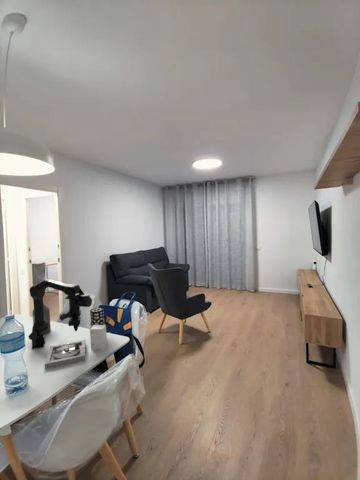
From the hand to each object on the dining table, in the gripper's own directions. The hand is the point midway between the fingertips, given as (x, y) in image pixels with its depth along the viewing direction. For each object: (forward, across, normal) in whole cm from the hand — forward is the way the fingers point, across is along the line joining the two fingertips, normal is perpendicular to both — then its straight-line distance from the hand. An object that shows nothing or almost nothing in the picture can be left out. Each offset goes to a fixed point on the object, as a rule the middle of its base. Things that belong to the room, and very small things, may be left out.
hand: (75, 330), depth 146 cm
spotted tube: (+12, -9, +13) cm, 20 cm away
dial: (+10, +5, -5) cm, 12 cm away
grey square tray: (+12, +5, -5) cm, 14 cm away
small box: (+12, +2, +13) cm, 18 cm away
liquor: (+12, -36, -24) cm, 45 cm away
